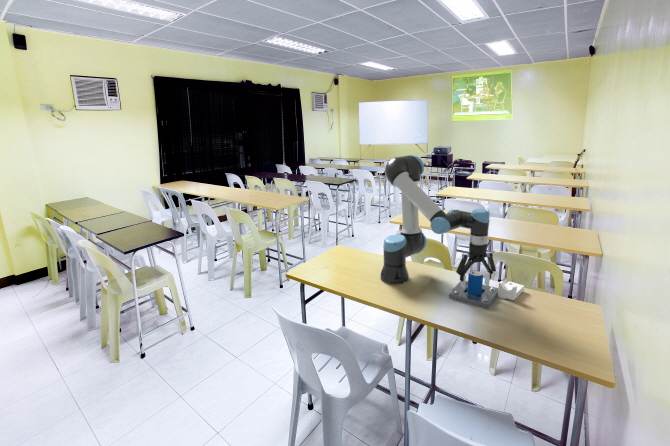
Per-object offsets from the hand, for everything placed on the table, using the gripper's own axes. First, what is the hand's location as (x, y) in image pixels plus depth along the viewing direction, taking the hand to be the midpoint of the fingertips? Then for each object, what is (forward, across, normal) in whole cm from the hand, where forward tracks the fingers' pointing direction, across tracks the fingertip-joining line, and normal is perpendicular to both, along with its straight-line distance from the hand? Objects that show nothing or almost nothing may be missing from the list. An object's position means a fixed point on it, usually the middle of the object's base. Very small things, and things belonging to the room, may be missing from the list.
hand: (474, 286), depth 163 cm
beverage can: (+5, 0, 0) cm, 5 cm away
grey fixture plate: (+5, 0, 0) cm, 5 cm away
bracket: (+6, +18, -2) cm, 19 cm away
